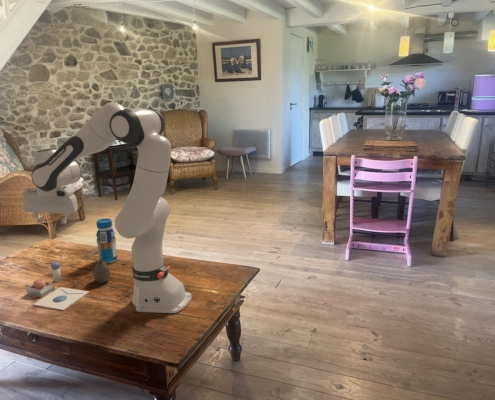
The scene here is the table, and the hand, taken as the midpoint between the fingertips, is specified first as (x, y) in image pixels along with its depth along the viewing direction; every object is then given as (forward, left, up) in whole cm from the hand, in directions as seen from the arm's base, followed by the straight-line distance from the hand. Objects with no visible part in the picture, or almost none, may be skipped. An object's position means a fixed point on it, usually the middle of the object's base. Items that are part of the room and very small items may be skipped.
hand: (52, 222), depth 157 cm
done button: (+2, +9, -25) cm, 27 cm away
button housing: (+2, +9, -27) cm, 28 cm away
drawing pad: (-10, +11, -27) cm, 31 cm away
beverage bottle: (-5, -25, -27) cm, 37 cm away
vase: (-16, -6, -27) cm, 32 cm away
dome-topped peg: (+3, -1, -27) cm, 27 cm away
